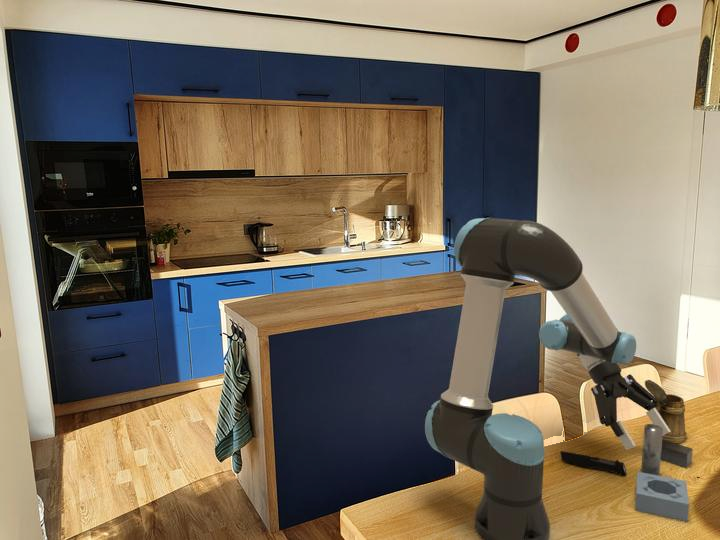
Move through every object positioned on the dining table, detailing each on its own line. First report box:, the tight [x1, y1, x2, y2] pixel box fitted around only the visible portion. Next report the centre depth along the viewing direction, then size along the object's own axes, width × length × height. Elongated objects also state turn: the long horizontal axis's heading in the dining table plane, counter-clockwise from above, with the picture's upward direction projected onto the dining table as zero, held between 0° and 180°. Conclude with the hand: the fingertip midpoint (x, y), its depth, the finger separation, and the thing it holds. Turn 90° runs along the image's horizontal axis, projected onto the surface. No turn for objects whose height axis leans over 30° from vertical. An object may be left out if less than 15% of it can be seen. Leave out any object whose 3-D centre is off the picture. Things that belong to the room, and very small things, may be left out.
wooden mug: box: [644, 379, 688, 444], centre depth 156 cm, size 9×14×18 cm, turn 113°
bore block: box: [634, 471, 690, 522], centre depth 127 cm, size 10×10×4 cm
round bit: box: [640, 423, 663, 476], centre depth 139 cm, size 4×4×12 cm
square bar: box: [661, 439, 694, 469], centre depth 146 cm, size 10×4×4 cm, turn 43°
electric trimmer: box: [559, 450, 627, 477], centre depth 143 cm, size 4×16×3 cm, turn 62°
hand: (649, 440), depth 140 cm, fingers open, 13 cm apart
